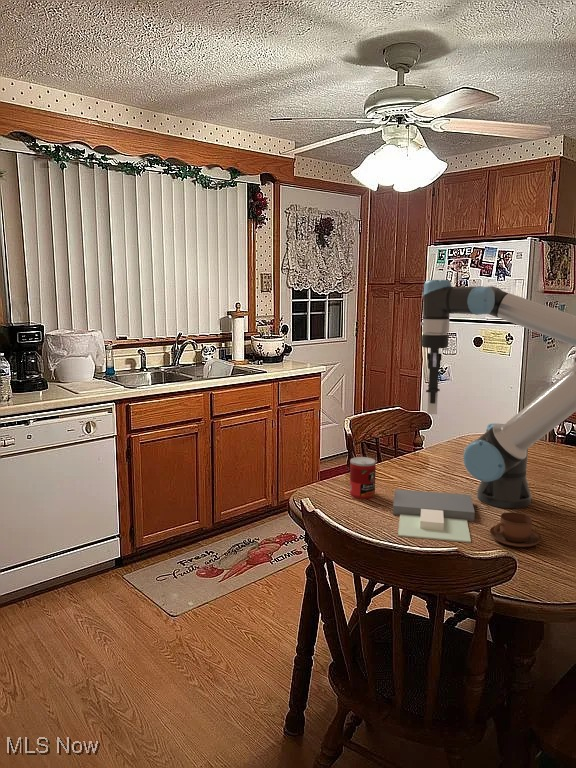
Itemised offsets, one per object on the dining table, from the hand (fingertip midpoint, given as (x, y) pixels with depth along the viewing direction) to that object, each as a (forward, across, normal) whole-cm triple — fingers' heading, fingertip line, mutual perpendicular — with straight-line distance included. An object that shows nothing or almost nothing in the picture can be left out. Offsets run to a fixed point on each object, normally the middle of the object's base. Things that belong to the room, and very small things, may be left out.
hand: (432, 413), depth 171 cm
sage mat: (+26, +22, +1) cm, 35 cm away
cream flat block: (+26, +20, +1) cm, 33 cm away
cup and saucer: (+27, +26, +21) cm, 42 cm away
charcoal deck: (+26, +8, +1) cm, 28 cm away
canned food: (+27, +1, -20) cm, 33 cm away
